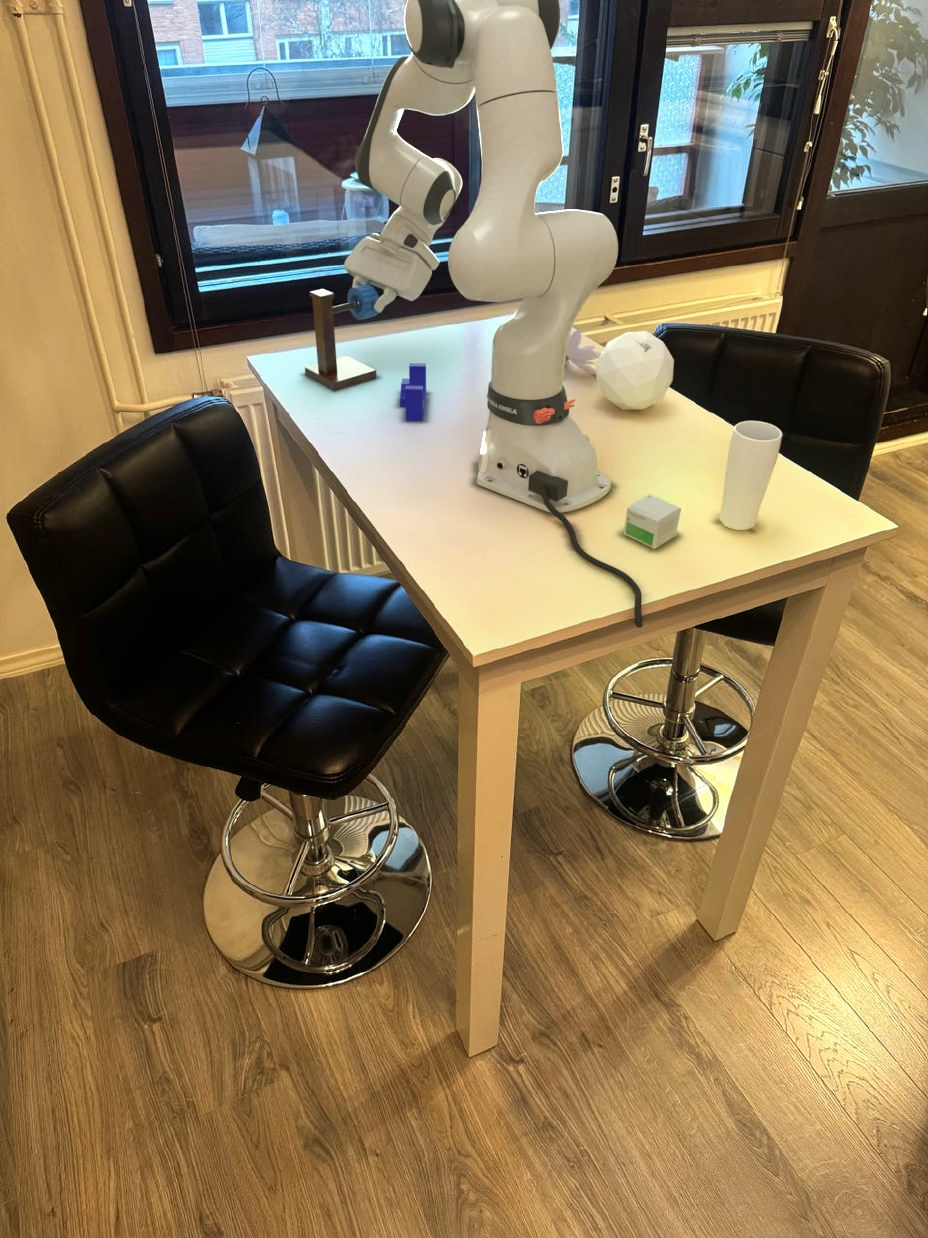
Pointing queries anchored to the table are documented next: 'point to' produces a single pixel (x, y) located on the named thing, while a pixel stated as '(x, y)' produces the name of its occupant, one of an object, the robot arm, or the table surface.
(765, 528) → the table surface
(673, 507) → the small box
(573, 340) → the water lily
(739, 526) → the drinking glass
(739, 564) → the table surface
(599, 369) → the geodesic sphere
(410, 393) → the cable clip
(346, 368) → the hook stand
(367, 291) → the fluted cylinder
